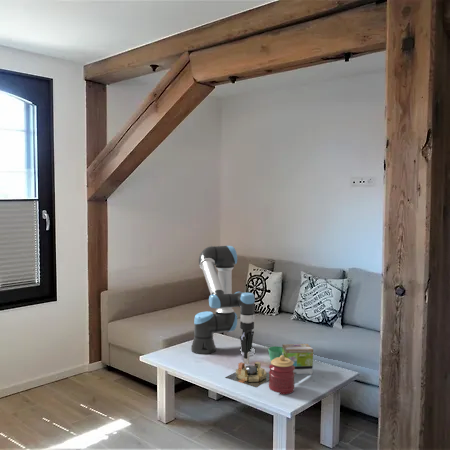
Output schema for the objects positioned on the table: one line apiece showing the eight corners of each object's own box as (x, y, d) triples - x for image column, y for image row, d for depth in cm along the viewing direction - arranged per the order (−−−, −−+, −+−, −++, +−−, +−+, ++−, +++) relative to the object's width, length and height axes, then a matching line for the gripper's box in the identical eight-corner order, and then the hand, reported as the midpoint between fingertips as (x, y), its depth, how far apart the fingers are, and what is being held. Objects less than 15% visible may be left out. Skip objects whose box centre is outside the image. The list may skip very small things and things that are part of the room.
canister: (296, 394, 240) (297, 360, 239) (271, 395, 239) (271, 360, 238) (291, 383, 253) (292, 350, 252) (266, 384, 252) (267, 351, 251)
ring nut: (230, 376, 258) (230, 366, 258) (247, 368, 271) (247, 358, 270) (255, 384, 249) (255, 374, 248) (271, 375, 261) (271, 365, 261)
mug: (278, 370, 271) (278, 353, 270) (264, 366, 277) (264, 349, 277) (293, 364, 281) (294, 347, 280) (280, 359, 288) (280, 343, 287)
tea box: (286, 376, 263) (286, 349, 262) (281, 369, 273) (281, 343, 271) (312, 375, 265) (313, 348, 264) (306, 368, 275) (307, 342, 274)
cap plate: (224, 379, 258) (224, 368, 257) (246, 368, 274) (246, 357, 273) (256, 389, 246) (256, 377, 245) (276, 377, 262) (277, 366, 261)
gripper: (248, 325, 258) (247, 368, 260) (258, 319, 269) (257, 361, 271) (235, 323, 261) (234, 365, 263) (246, 317, 273) (245, 358, 275)
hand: (246, 363), depth 267 cm, fingers closed
